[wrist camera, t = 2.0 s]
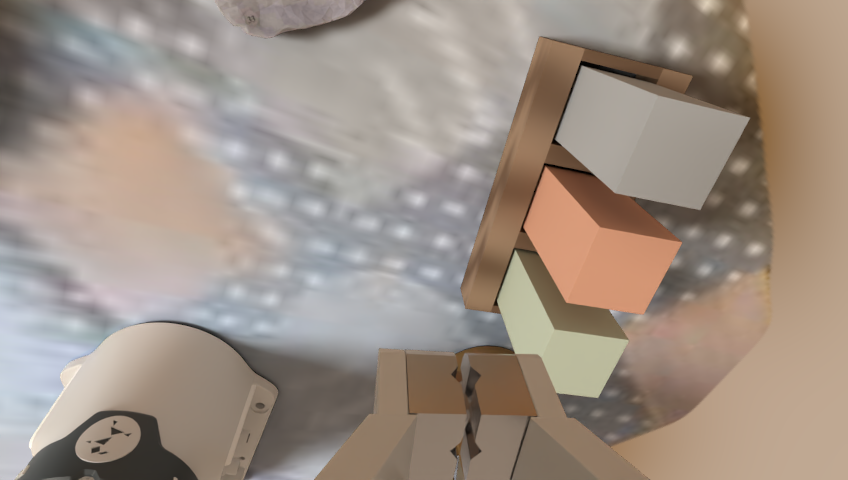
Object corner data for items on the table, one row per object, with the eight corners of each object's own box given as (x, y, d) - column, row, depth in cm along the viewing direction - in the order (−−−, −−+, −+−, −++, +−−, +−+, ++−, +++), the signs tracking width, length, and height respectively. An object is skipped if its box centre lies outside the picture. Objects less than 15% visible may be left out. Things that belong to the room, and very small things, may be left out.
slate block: (618, 152, 34) (700, 210, 25) (554, 138, 33) (615, 193, 24) (648, 81, 31) (750, 117, 23) (580, 65, 31) (658, 95, 22)
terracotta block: (582, 236, 37) (643, 314, 28) (522, 226, 36) (566, 302, 27) (607, 178, 35) (682, 242, 26) (544, 165, 34) (599, 227, 25)
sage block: (551, 307, 40) (597, 397, 31) (496, 299, 39) (527, 389, 30) (573, 258, 38) (629, 340, 29) (514, 248, 37) (554, 329, 28)
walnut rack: (564, 304, 43) (576, 324, 40) (460, 288, 41) (465, 308, 39) (668, 69, 34) (692, 76, 31) (539, 36, 32) (552, 40, 29)
